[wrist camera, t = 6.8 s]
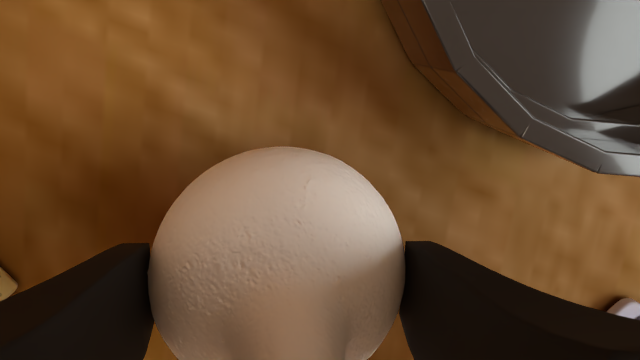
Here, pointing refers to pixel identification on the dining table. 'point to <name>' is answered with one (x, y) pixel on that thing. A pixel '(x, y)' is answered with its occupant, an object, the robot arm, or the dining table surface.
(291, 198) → the garlic bulb
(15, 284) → the candy box
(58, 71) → the dining table surface
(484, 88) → the pan
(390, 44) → the dining table surface
